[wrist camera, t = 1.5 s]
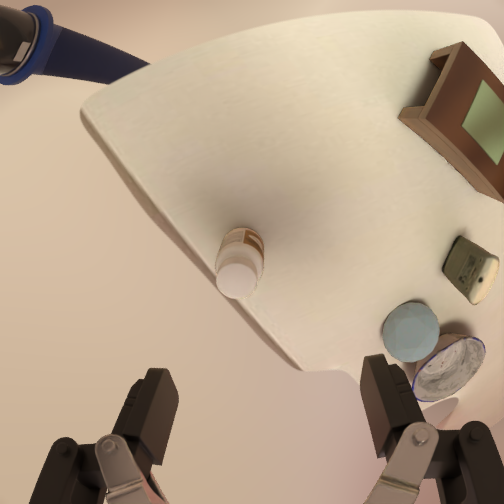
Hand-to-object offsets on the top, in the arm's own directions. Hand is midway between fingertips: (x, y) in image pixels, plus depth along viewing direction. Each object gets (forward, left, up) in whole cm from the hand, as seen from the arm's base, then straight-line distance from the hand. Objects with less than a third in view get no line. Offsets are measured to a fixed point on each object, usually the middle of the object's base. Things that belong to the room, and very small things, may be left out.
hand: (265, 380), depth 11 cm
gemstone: (+22, -3, -21) cm, 31 cm away
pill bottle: (-1, -4, -21) cm, 22 cm away
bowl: (+33, -5, -21) cm, 40 cm away
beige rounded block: (+22, +8, -21) cm, 32 cm away
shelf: (+13, +21, -21) cm, 33 cm away
